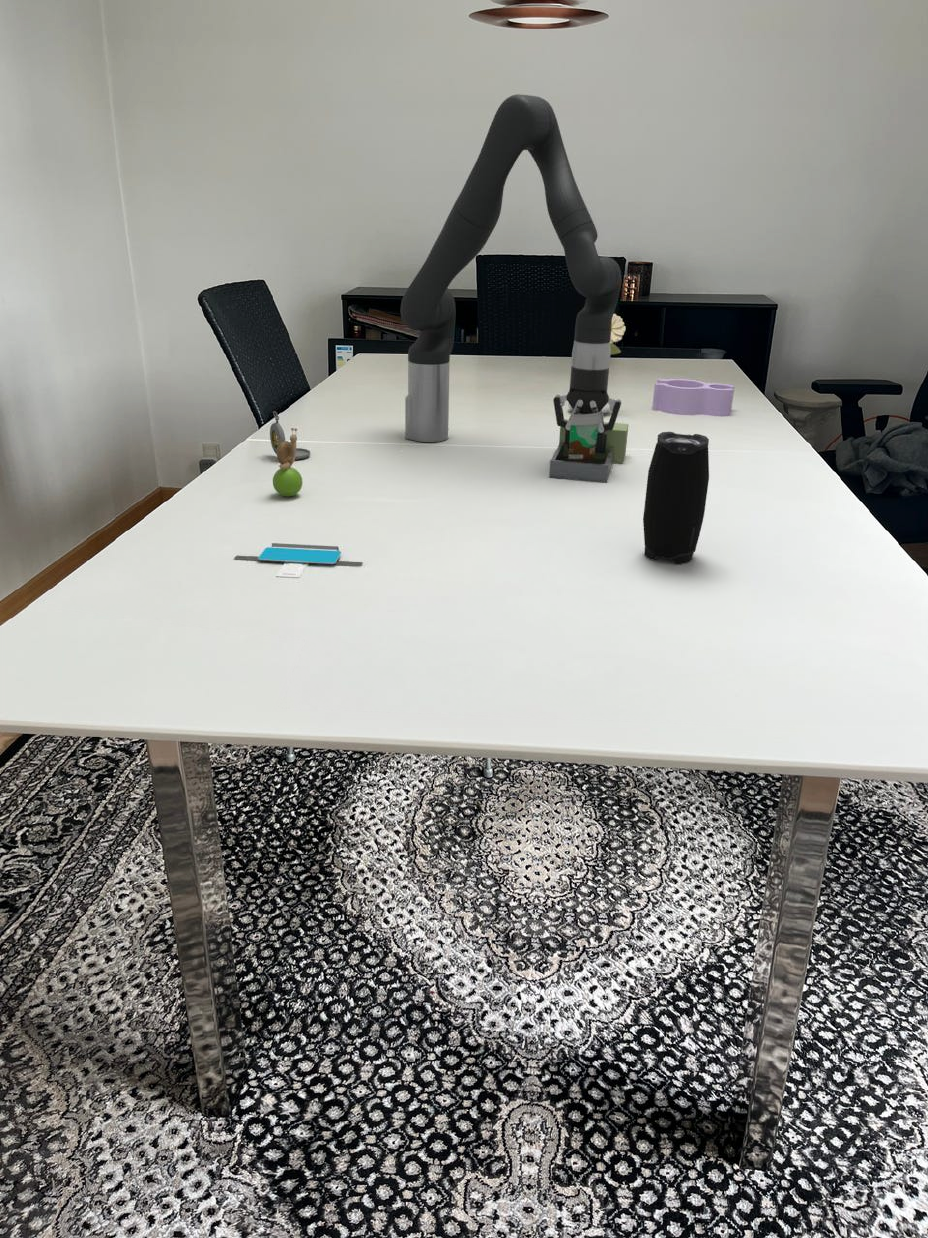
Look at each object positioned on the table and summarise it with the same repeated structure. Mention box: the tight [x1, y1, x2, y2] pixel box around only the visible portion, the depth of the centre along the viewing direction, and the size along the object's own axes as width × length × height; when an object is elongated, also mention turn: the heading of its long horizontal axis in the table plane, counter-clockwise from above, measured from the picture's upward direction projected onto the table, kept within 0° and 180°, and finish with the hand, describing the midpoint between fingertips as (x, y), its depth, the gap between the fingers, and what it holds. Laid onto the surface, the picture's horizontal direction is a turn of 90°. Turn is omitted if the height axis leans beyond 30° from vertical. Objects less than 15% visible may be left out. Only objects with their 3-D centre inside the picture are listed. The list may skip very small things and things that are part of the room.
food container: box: [568, 411, 605, 462], centre depth 197 cm, size 12×6×10 cm, turn 168°
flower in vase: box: [567, 313, 627, 414], centre depth 242 cm, size 13×11×25 cm
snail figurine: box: [272, 427, 303, 498], centre depth 177 cm, size 5×6×12 cm
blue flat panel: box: [233, 542, 363, 579], centre depth 149 cm, size 20×12×2 cm, turn 85°
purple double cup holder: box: [651, 378, 735, 417], centre depth 252 cm, size 20×12×7 cm, turn 74°
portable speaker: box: [642, 431, 710, 565], centre depth 152 cm, size 9×9×20 cm
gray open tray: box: [549, 442, 615, 484], centre depth 199 cm, size 12×15×4 cm
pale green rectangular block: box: [558, 418, 629, 464], centre depth 208 cm, size 14×7×7 cm, turn 77°
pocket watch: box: [269, 411, 311, 460], centre depth 201 cm, size 8×8×10 cm
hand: (583, 447), depth 198 cm, fingers closed on food container, 5 cm apart
